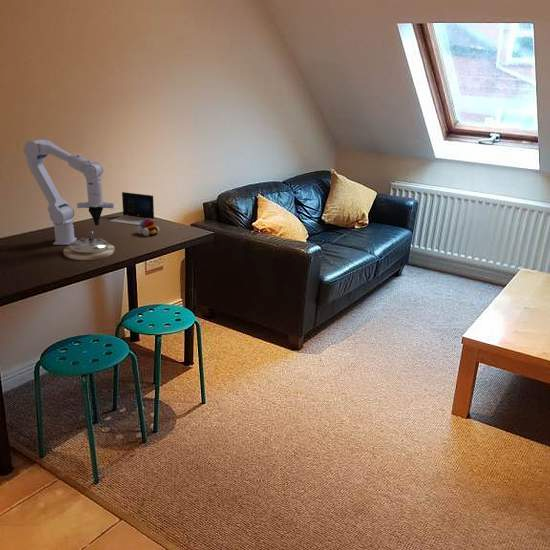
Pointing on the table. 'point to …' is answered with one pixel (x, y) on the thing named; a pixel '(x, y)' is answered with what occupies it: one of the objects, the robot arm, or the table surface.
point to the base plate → (95, 256)
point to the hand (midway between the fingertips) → (97, 224)
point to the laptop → (136, 208)
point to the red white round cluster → (147, 227)
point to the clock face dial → (89, 245)
